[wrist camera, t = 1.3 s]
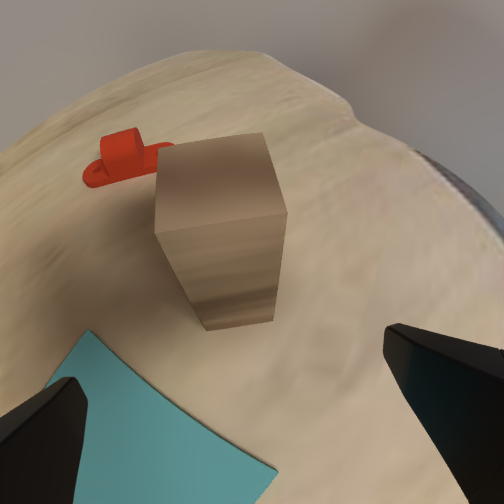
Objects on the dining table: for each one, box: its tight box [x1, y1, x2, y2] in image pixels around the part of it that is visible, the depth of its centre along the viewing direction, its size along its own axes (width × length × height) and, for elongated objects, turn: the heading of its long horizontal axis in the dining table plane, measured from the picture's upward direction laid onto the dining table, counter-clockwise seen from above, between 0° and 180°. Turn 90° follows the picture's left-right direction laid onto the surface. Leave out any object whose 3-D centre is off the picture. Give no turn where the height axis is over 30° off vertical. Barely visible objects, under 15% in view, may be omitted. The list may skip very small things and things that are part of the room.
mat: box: [44, 329, 279, 504], centre depth 16 cm, size 18×14×1 cm
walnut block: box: [155, 133, 287, 331], centre depth 18 cm, size 5×5×13 cm
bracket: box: [82, 127, 174, 188], centre depth 30 cm, size 12×4×5 cm, turn 102°
